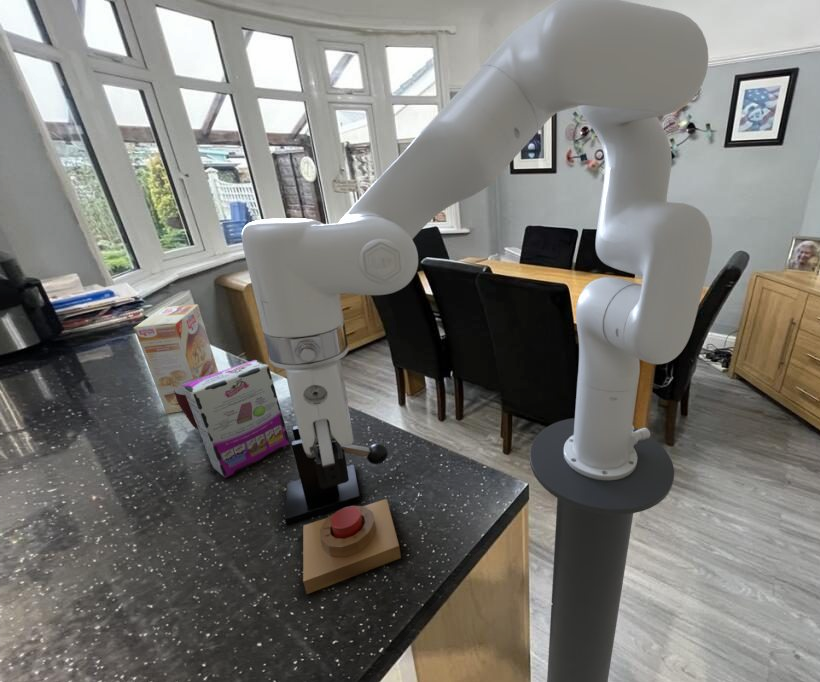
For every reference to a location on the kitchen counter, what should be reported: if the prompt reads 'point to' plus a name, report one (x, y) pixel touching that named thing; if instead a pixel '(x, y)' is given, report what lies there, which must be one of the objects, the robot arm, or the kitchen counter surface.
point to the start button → (346, 522)
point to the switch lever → (369, 452)
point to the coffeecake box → (175, 350)
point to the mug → (185, 402)
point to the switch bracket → (315, 488)
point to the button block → (348, 548)
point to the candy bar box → (237, 416)
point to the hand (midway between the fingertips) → (334, 481)
